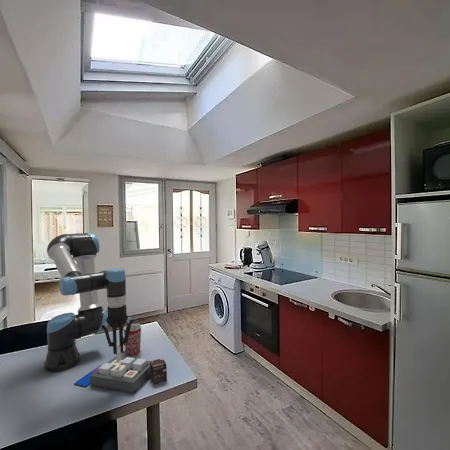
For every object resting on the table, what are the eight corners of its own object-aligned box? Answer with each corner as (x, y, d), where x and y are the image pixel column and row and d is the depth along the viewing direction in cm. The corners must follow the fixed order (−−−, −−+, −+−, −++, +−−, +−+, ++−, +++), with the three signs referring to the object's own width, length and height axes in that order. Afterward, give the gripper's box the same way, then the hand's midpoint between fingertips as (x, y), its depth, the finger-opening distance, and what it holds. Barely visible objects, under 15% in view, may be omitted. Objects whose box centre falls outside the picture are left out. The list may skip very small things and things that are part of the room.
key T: (110, 377, 111) (110, 369, 111) (117, 371, 115) (117, 364, 115) (119, 378, 110) (119, 370, 110) (126, 372, 114) (126, 365, 114)
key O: (99, 375, 112) (98, 368, 112) (106, 369, 117) (106, 362, 117) (107, 376, 111) (107, 369, 111) (114, 370, 116) (114, 364, 116)
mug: (145, 349, 142) (145, 324, 142) (133, 358, 133) (133, 331, 133) (127, 346, 147) (126, 321, 146) (115, 353, 138) (114, 328, 138)
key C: (123, 383, 109) (123, 375, 109) (129, 377, 114) (129, 369, 114) (132, 384, 108) (132, 377, 108) (138, 378, 112) (138, 371, 112)
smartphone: (72, 383, 112) (99, 365, 126) (72, 385, 112) (100, 366, 126) (85, 387, 110) (112, 367, 124) (86, 389, 110) (112, 369, 124)
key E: (132, 370, 116) (132, 363, 116) (138, 365, 120) (138, 358, 120) (141, 371, 114) (141, 364, 114) (146, 366, 119) (146, 359, 119)
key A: (109, 370, 119) (109, 363, 119) (116, 365, 123) (115, 358, 123) (117, 372, 118) (117, 365, 118) (124, 366, 122) (123, 360, 122)
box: (152, 384, 111) (152, 367, 111) (150, 377, 116) (149, 361, 116) (167, 380, 114) (166, 363, 114) (163, 373, 119) (163, 357, 119)
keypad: (90, 386, 111) (89, 375, 111) (115, 366, 126) (115, 356, 126) (133, 393, 105) (133, 382, 105) (154, 371, 121) (154, 361, 121)
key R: (120, 368, 117) (120, 362, 117) (126, 363, 121) (126, 357, 121) (129, 369, 116) (129, 363, 116) (135, 364, 120) (135, 358, 120)
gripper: (100, 310, 106) (102, 369, 106) (134, 304, 112) (136, 359, 112) (99, 305, 112) (101, 360, 112) (131, 300, 119) (132, 352, 119)
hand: (118, 360), depth 112 cm, fingers closed
